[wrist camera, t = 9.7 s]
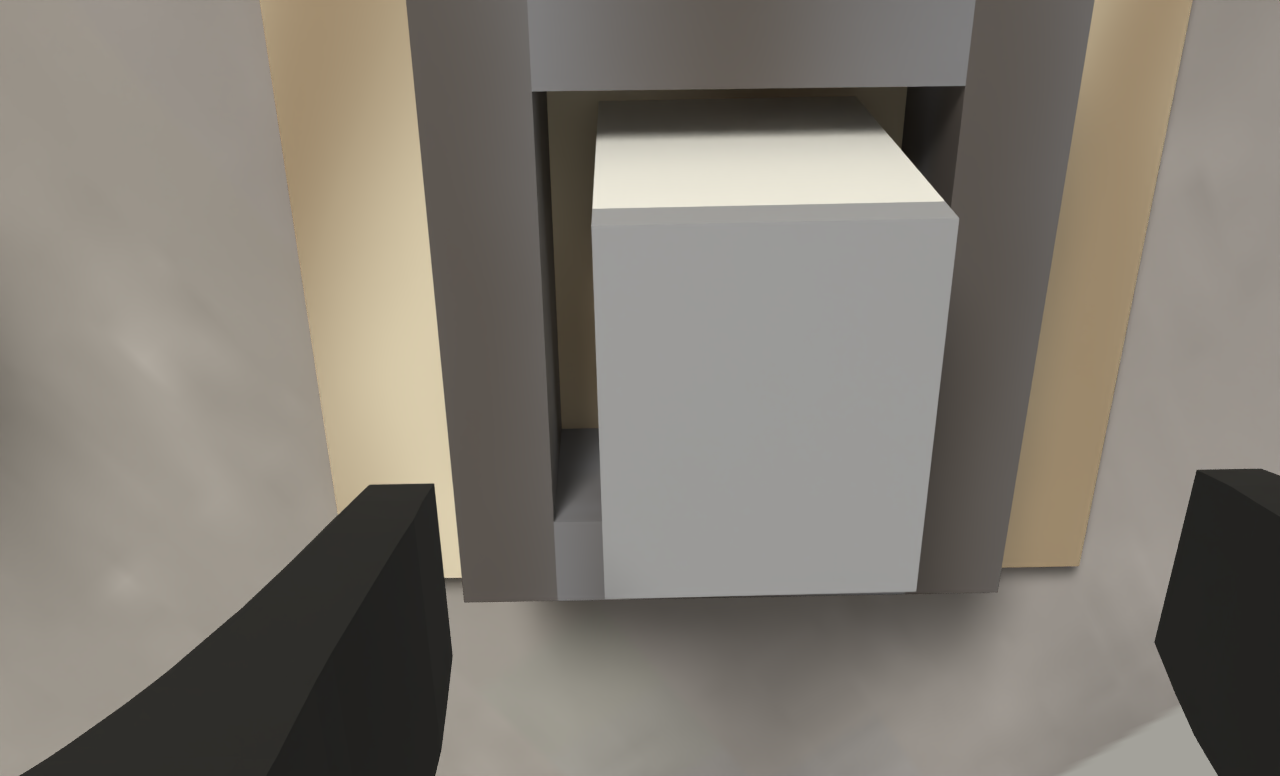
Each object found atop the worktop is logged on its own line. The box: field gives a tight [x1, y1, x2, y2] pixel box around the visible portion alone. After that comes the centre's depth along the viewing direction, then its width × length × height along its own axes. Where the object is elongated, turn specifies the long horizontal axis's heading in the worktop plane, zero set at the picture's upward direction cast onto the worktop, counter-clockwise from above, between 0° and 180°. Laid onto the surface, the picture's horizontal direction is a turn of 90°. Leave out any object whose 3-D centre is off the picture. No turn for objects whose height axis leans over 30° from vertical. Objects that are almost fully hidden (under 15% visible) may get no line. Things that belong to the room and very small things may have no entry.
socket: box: [260, 0, 1193, 602], centre depth 18 cm, size 14×13×4 cm
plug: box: [591, 96, 959, 599], centre depth 16 cm, size 4×5×6 cm
